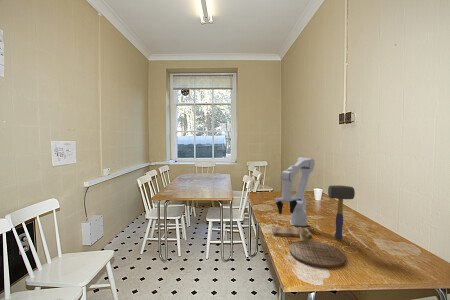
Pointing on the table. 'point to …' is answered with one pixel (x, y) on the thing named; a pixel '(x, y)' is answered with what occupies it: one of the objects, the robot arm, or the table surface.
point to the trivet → (317, 254)
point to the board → (287, 232)
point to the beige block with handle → (303, 233)
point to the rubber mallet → (340, 204)
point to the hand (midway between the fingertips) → (285, 213)
